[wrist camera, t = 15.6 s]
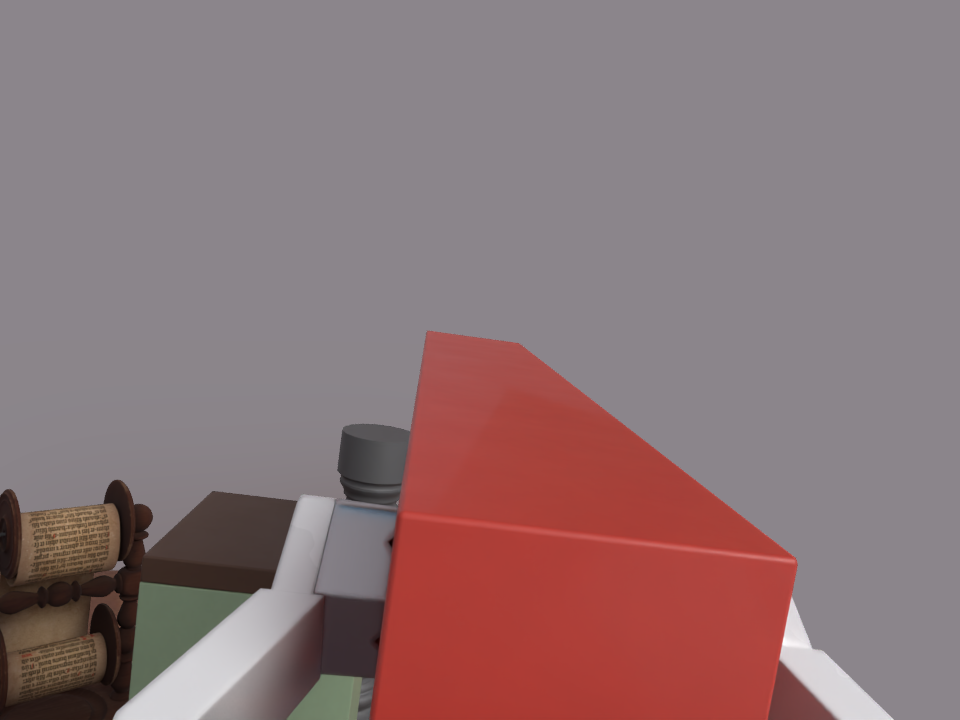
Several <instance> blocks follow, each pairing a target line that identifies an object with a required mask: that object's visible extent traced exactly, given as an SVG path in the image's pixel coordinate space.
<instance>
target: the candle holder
mask: <svg viewBox="0 0 960 720" xmlns="http://www.w3.org/2000/svg"><path fill="white" fill-rule="evenodd" d="M409 437H410V432H409V431H407V430H404V429H400V428H395V427H391V426H384V425H375V424H355V425H349V426H345V427H344V428H343V430H342V438H341V445H340V453H339V462H338V469H337V470H338V472H339V473H340V474H341V478H340V482H341V484H342V486H343V488H344V494H345V495H346V496H347V498H346V499H345V500H351V501H358V502H365V503H372V504H379V505H386V506H392V507H398V505H397V504H396V502H397V501H398V500H399V498H400V492H401V486H402V479H403V473H404V467H405V461H406V455H407V449H408V443H409ZM374 680H375V678H363V677H362V683H361V691H360V698H359V706H358V714H357V720H369V717H370V710H371V702H372V695H373V687H374Z"/></svg>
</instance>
